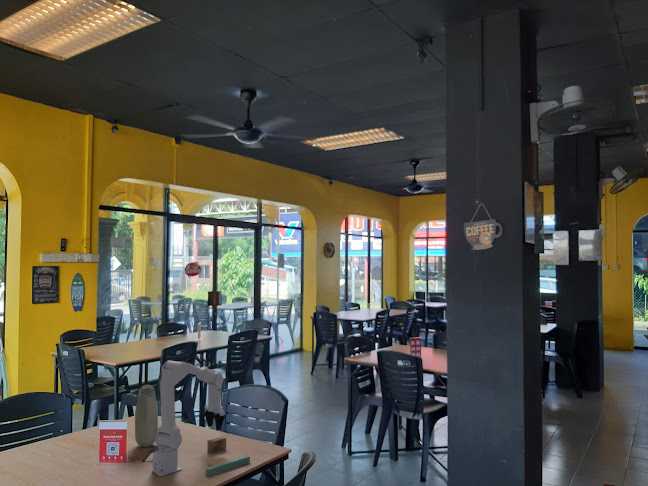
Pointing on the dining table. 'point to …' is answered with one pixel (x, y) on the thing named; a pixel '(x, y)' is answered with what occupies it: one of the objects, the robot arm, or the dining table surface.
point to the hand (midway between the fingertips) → (214, 428)
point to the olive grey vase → (146, 417)
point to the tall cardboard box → (216, 444)
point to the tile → (217, 462)
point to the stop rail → (227, 465)
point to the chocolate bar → (150, 455)
